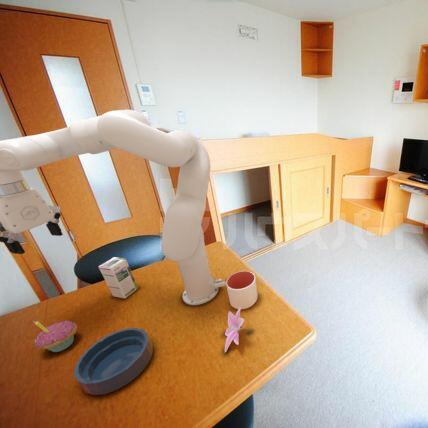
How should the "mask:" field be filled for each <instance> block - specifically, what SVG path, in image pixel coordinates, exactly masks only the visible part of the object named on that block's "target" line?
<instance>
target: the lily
mask: <svg viewBox="0 0 428 428" xmlns="http://www.w3.org/2000/svg"><path fill="white" fill-rule="evenodd" d="M241 310H242V309H241V307H240V308H239V309H237V311H236V313H235V315H234V313H232V312H231V310H228V314H227V325H228V327H227V328H226V330H225V332H224V336H226V339H225V343H224V354H225V353H227V351H228V349H229V347H230V345H231V343H232V342H234V343H235V345H237V346H239V342H240V341H239V333H240V331H241V330H244V331H246V332H248V333H251V331H249V330H248V329H246V328H243V327H242V325H243V324H244V322H245V318H242V317H241V316H240V315H241Z"/></svg>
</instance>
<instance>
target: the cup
mask: <svg viewBox="0 0 428 428" xmlns="http://www.w3.org/2000/svg"><path fill="white" fill-rule="evenodd" d="M225 282H226V286H225V287H226V291H227V296H228V300H229V301H228V302H229V304H230V306H231V307H232V308H234V309H235V310H238V309H239V308H240V307H241V310H246V309H248V308H250V307H253V305H254V304H256V303H257V300H258V296H259V294H258V288H257V287H258V286H257V279H256V275H255V274H254V273H253V272H252V271H249V270H240V271H237V272H234V273H233V274H231V275H229V277H228V278H227V279H226V280H225Z"/></svg>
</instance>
